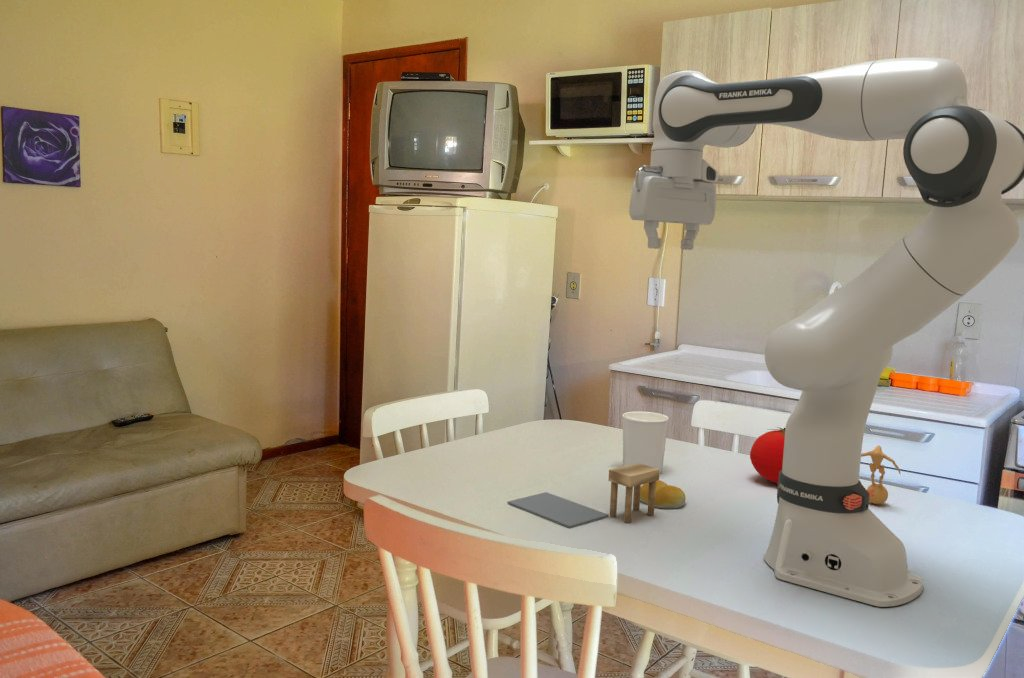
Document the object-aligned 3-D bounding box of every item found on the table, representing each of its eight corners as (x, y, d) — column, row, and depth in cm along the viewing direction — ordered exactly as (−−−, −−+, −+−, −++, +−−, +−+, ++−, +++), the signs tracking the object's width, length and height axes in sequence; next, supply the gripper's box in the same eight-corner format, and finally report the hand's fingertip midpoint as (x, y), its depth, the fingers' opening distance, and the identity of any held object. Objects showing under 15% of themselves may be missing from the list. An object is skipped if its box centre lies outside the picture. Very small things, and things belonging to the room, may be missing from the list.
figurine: (901, 506, 159) (907, 446, 157) (893, 513, 154) (899, 451, 153) (856, 497, 164) (862, 438, 163) (847, 503, 159) (853, 443, 158)
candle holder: (672, 469, 179) (675, 415, 178) (654, 479, 171) (658, 423, 169) (630, 461, 184) (633, 409, 183) (611, 471, 176) (614, 416, 174)
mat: (608, 516, 146) (608, 514, 146) (569, 528, 140) (569, 526, 140) (546, 494, 158) (546, 492, 158) (507, 503, 151) (507, 501, 151)
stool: (656, 514, 148) (659, 469, 147) (628, 523, 143) (630, 476, 142) (635, 507, 152) (637, 463, 151) (606, 516, 147) (608, 469, 146)
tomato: (816, 495, 164) (821, 439, 163) (745, 485, 169) (749, 431, 168) (818, 479, 176) (822, 427, 174) (751, 470, 181) (755, 419, 179)
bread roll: (667, 513, 150) (668, 491, 150) (630, 500, 157) (631, 480, 156) (695, 505, 156) (696, 484, 155) (658, 493, 162) (659, 473, 162)
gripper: (652, 162, 133) (647, 248, 135) (724, 173, 147) (719, 250, 149) (622, 164, 138) (618, 247, 140) (694, 174, 152) (690, 249, 153)
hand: (670, 249), depth 144 cm, fingers open, 8 cm apart
